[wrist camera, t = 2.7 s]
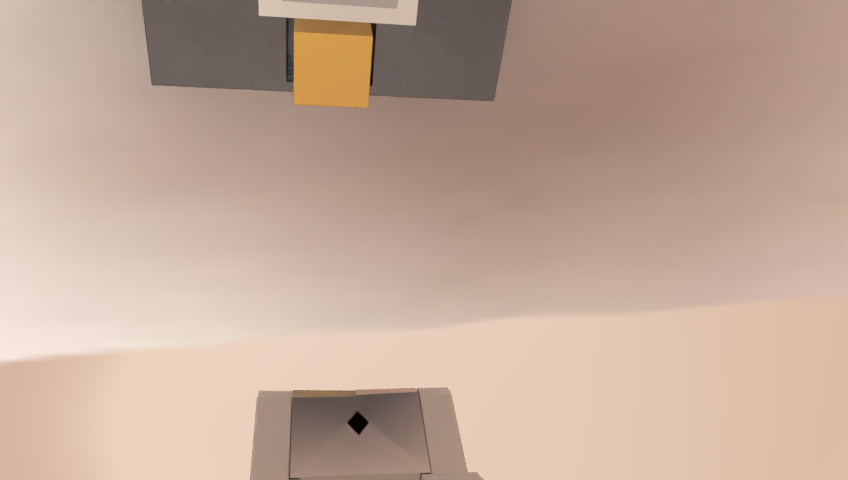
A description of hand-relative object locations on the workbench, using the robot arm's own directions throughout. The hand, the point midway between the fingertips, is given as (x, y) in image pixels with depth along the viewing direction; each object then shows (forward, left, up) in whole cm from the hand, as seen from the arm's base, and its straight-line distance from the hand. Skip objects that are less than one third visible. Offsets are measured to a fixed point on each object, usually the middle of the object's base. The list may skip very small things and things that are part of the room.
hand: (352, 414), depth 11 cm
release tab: (0, 0, -18) cm, 18 cm away
